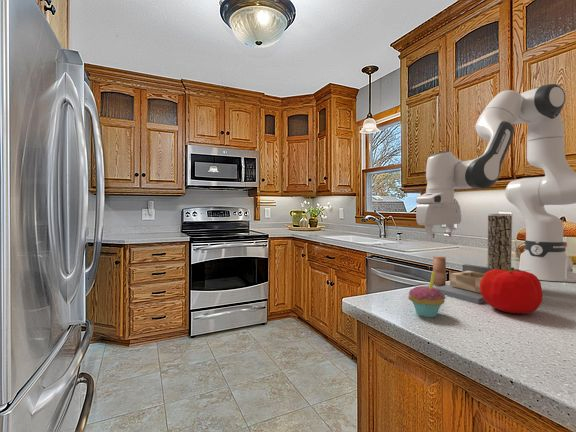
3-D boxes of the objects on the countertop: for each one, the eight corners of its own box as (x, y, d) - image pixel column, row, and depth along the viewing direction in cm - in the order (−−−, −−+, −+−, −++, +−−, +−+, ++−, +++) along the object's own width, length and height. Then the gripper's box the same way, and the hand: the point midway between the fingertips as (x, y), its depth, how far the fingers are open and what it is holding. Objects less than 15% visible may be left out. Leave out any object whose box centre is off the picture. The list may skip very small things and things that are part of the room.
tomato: (547, 323, 72) (548, 274, 72) (481, 314, 79) (481, 269, 79) (536, 308, 83) (536, 265, 83) (478, 301, 90) (478, 261, 89)
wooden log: (515, 288, 103) (515, 214, 103) (492, 287, 105) (493, 214, 104) (505, 283, 110) (505, 213, 109) (484, 283, 111) (484, 213, 111)
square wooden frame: (468, 282, 105) (468, 270, 105) (500, 288, 96) (500, 276, 96) (450, 286, 100) (450, 273, 100) (482, 293, 91) (482, 279, 91)
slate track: (466, 285, 108) (466, 264, 108) (511, 294, 96) (511, 271, 96) (433, 292, 99) (433, 269, 99) (478, 304, 87) (478, 277, 87)
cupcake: (449, 314, 79) (449, 267, 79) (437, 323, 73) (437, 272, 73) (416, 306, 85) (416, 263, 85) (402, 314, 79) (402, 267, 79)
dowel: (437, 283, 111) (437, 255, 111) (448, 285, 108) (448, 257, 107) (430, 284, 109) (430, 256, 109) (440, 287, 106) (440, 258, 106)
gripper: (449, 198, 115) (449, 235, 116) (412, 198, 105) (412, 238, 106) (466, 198, 110) (465, 236, 110) (429, 197, 100) (429, 240, 100)
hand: (439, 237), depth 108 cm, fingers open, 8 cm apart
